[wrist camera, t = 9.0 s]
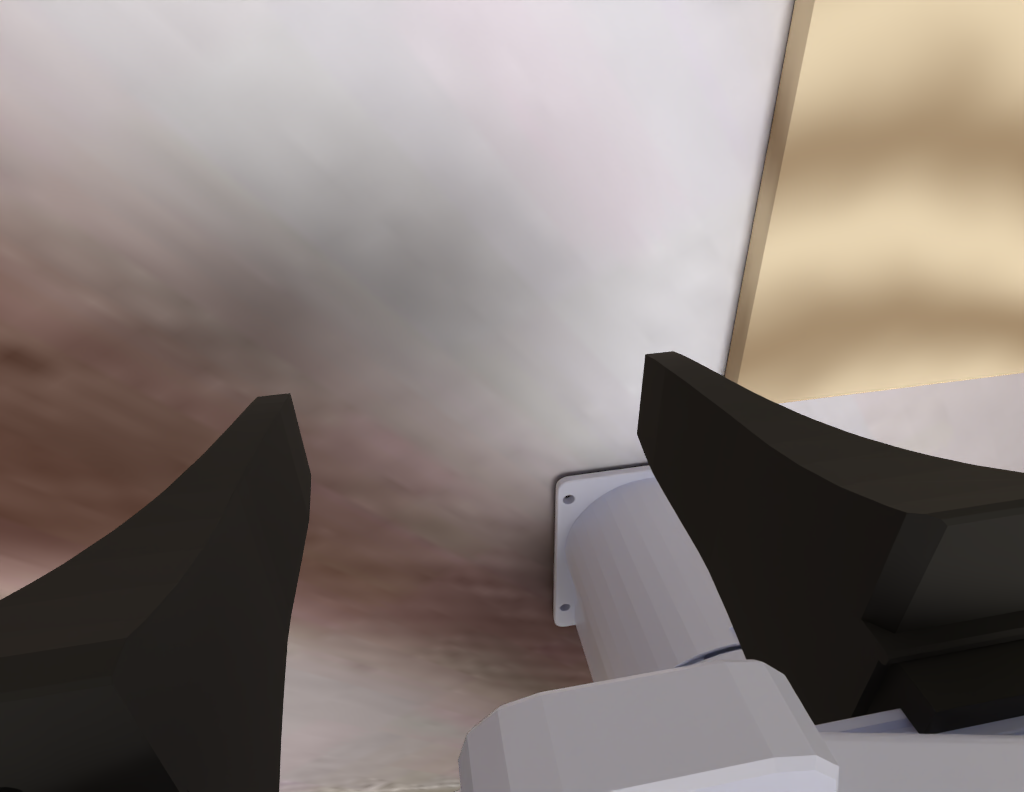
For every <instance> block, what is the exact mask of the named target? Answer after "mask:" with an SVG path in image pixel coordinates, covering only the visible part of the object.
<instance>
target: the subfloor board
mask: <svg viewBox="0 0 1024 792" xmlns="http://www.w3.org/2000/svg"><path fill="white" fill-rule="evenodd" d="M1018 373H1024V0H795V5H794V10H793V16H792V21H791V26H790V31H789V37H788V42H787V47H786V53H785V58H784V63H783V69H782V74H781V79H780V85H779V90H778V95H777V101H776V106H775V111H774V117H773V122H772V127H771V133H770V138H769V143H768V149H767V154H766V159H765V164H764V170H763V175H762V180H761V186H760V191H759V196H758V202H757V207H756V212H755V218H754V223H753V228H752V234H751V239H750V244H749V250H748V255H747V260H746V266H745V271H744V276H743V282H742V287H741V292H740V297H739V303H738V308H737V313H736V319H735V324H734V329H733V335H732V340H731V345H730V351H729V356H728V361H727V367H726V372H725V378H727V379H729V380H731V381H733V382H735V383H737V384H739V385H741V386H743V387H744V388H746V389H748V390H750V391H752V392H754V393H756V394H758V395H760V396H762V397H764V398H766V399H768V400H770V401H773V402H775V403H785V402H793V401H801V400H809V399H817V398H825V397H833V396H841V395H849V394H857V393H865V392H873V391H881V390H889V389H897V388H905V387H914V386H922V385H930V384H938V383H946V382H954V381H962V380H970V379H978V378H986V377H994V376H1002V375H1010V374H1018Z"/></svg>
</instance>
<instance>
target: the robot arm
mask: <svg viewBox="0 0 1024 792" xmlns="http://www.w3.org/2000/svg"><path fill="white" fill-rule="evenodd" d="M637 435H638V438H639V440H640V443H641V446H642V448H643V451H644V453H645V456H646V458H647V461H648V463H649V465H647V466H640V467H633V468H625V469H618V470H610V471H603V472H596V473H588V474H581V475H573V476H567V477H563V478H562V479H560V480H559V481H558V482H557V484H556V497H555V549H554V601H553V618H554V621H555V624H556V625H557V626H560V627H565V626H571V625H576V628H577V631H578V634H579V637H580V640H581V644H582V647H583V650H584V653H585V657H586V660H587V663H588V666H589V669H590V673H591V676H592V679H593V682H594V683H589V684H583V685H578V686H572V687H567V688H561V689H556V690H550V691H545V692H539V693H536V694H533V695H530V696H528V697H525V698H522V699H519V700H516V701H513V702H510V703H507V704H504V705H501V706H500V707H498V708H497V709H496V710H494V711H493V712H492V713H491V714H489V715H488V716H487V717H486V718H484V719H483V720H482V721H480V722H479V723H478V724H477V725H475V726H474V727H473V728H472V729H471V730H470V731H469V733H468V734H467V735H466V738H465V741H464V744H463V747H462V750H461V753H460V756H459V759H458V763H459V773H460V782H461V789H459V790H457V791H454V792H1024V473H1021V472H1015V471H1009V470H1002V469H996V468H990V467H983V466H977V465H972V464H967V463H962V462H957V461H953V460H948V459H943V458H939V457H934V456H929V455H925V454H921V453H917V452H913V451H909V450H905V449H902V448H898V447H895V446H891V445H888V444H884V443H881V442H877V441H874V440H871V439H867V438H864V437H861V436H858V435H855V434H852V433H849V432H846V431H843V430H840V429H838V428H835V427H832V426H830V425H827V424H824V423H822V422H819V421H816V420H814V419H811V418H809V417H806V416H804V415H801V414H799V413H797V412H795V411H792V410H790V409H788V408H786V407H784V406H781V405H779V404H777V403H775V402H773V401H770V400H768V399H766V398H764V397H762V396H760V395H758V394H756V393H754V392H752V391H750V390H748V389H746V388H744V387H743V386H741V385H739V384H737V383H735V382H733V381H731V380H729V379H727V378H725V377H724V376H722V375H720V374H718V373H716V372H714V371H712V370H710V369H709V368H707V367H705V366H703V365H701V364H699V363H697V362H695V361H693V360H691V359H689V358H687V357H685V356H683V355H681V354H678V353H676V352H674V351H672V352H663V353H654V354H645V364H644V373H643V382H642V392H641V401H640V411H639V420H638V429H637ZM310 491H311V473H310V469H309V465H308V461H307V457H306V453H305V450H304V446H303V442H302V438H301V434H300V430H299V426H298V422H297V418H296V414H295V410H294V406H293V402H292V399H291V395H290V393H289V394H280V395H271V396H262V397H257V398H256V399H255V400H254V401H253V402H252V403H251V404H250V405H249V406H248V407H247V408H246V409H245V411H244V412H243V413H242V414H241V415H240V416H239V417H238V418H237V419H236V420H235V421H234V423H233V424H232V425H231V426H230V427H229V428H228V429H227V430H226V431H225V432H224V433H223V434H222V435H221V436H220V437H219V438H218V439H217V441H216V442H215V443H214V444H213V445H212V446H211V447H210V448H209V449H208V450H207V451H206V452H205V453H204V454H203V455H202V456H201V457H200V458H199V459H198V460H197V461H196V462H195V463H194V464H193V465H191V466H190V467H189V468H188V469H187V470H186V471H185V472H184V473H183V474H182V475H181V476H180V477H179V478H178V479H176V480H175V481H174V482H173V483H172V484H171V485H170V486H169V487H168V488H167V489H166V490H165V491H163V492H162V493H161V494H160V495H159V496H158V497H156V498H155V499H154V500H153V501H151V502H150V503H149V504H148V505H147V506H145V507H144V508H143V509H141V510H140V511H139V512H138V513H136V514H135V515H134V516H132V517H131V518H130V519H128V520H127V521H126V522H125V523H123V524H122V525H121V526H119V527H118V528H116V529H115V530H114V531H112V532H111V533H109V534H108V535H106V536H105V537H103V538H102V539H100V540H99V541H97V542H96V543H94V544H93V545H91V546H90V547H88V548H87V549H85V550H84V551H82V552H81V553H79V554H78V555H76V556H75V557H73V558H72V559H70V560H69V561H67V562H66V563H64V564H62V565H61V566H59V567H58V568H56V569H54V570H53V571H51V572H49V573H47V574H46V575H44V576H42V577H41V578H39V579H37V580H36V581H34V582H32V583H30V584H29V585H27V586H25V587H23V588H21V589H20V590H18V591H16V592H14V593H12V594H11V595H9V596H7V597H5V598H3V599H2V600H0V792H279V780H280V754H281V732H282V715H283V698H284V682H285V669H286V656H287V642H288V634H289V627H290V619H291V613H292V608H293V603H294V598H295V592H296V587H297V582H298V577H299V571H300V566H301V561H302V556H303V550H304V545H305V539H306V534H307V528H308V523H309V513H310ZM567 495H571V496H570V497H568V498H564V497H565V496H567Z"/></svg>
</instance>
